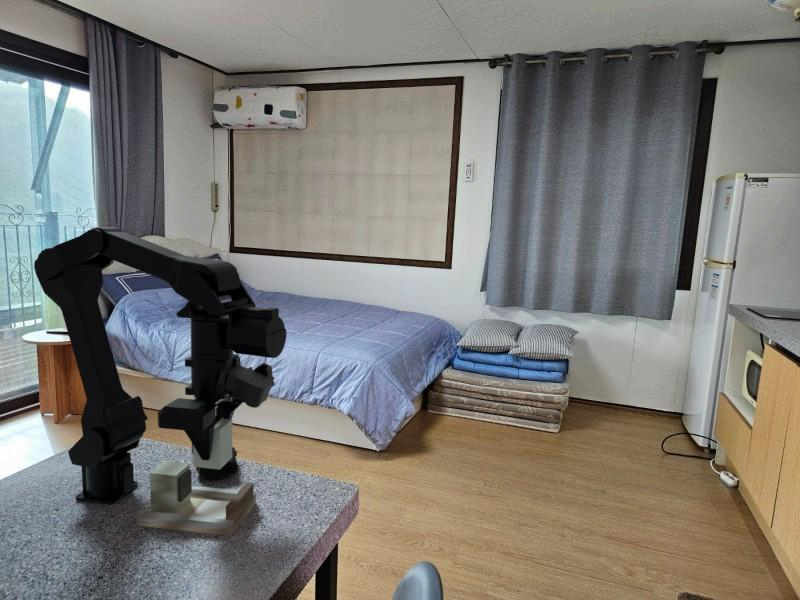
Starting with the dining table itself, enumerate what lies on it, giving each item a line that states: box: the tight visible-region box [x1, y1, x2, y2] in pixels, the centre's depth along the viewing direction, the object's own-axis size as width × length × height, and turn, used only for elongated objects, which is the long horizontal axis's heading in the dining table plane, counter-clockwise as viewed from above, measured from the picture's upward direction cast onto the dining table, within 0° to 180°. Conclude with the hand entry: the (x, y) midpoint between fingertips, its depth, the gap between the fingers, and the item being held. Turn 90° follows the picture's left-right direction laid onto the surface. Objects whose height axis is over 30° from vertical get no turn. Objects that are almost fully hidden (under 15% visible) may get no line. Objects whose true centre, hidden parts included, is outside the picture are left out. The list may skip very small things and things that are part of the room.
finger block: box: [191, 418, 233, 469], centre depth 77 cm, size 4×4×6 cm
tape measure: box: [195, 446, 239, 480], centre depth 92 cm, size 7×7×4 cm
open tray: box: [136, 460, 257, 537], centre depth 79 cm, size 14×9×7 cm, turn 83°
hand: (212, 453), depth 78 cm, fingers closed on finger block, 4 cm apart
